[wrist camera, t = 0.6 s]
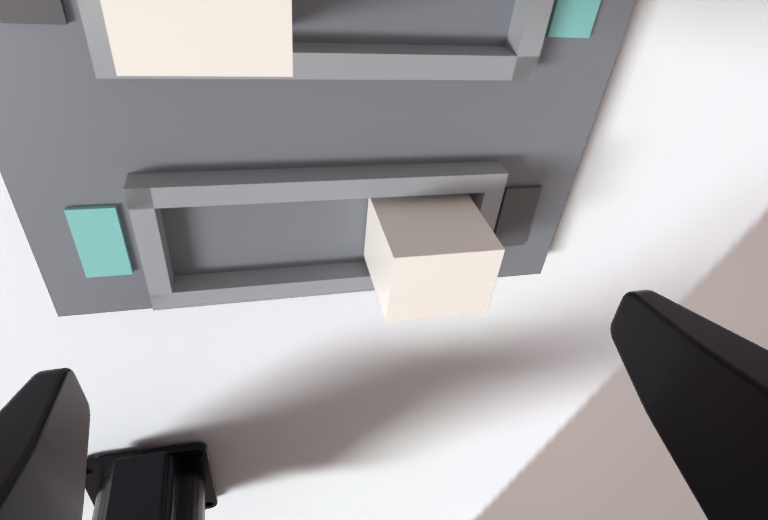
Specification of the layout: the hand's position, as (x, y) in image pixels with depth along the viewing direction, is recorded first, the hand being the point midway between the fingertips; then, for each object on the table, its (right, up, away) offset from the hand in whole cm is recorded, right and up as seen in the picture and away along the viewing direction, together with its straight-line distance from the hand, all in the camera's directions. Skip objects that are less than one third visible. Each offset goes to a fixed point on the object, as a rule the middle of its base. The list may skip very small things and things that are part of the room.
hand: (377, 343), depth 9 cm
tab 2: (+1, +3, +13) cm, 14 cm away
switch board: (-2, +7, +11) cm, 13 cm away
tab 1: (-5, +9, +6) cm, 12 cm away
